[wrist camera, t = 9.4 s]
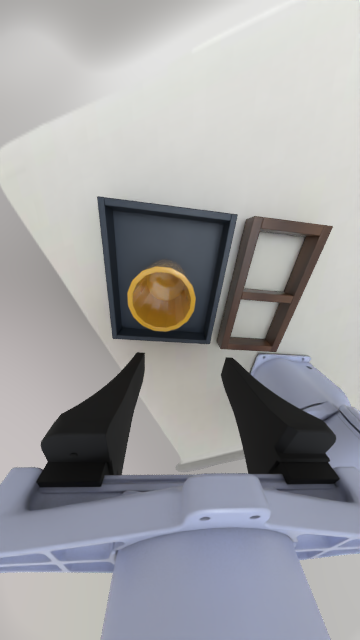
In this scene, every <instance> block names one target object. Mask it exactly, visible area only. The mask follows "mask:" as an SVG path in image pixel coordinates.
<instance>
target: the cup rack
mask: <svg viewBox="0 0 360 640" xmlns="http://www.w3.org/2000/svg"><path fill="white" fill-rule="evenodd" d="M332 228H333V226H327V225H319V224H312V223H304V222H296V221H289V220H281V219H273V218H265V217H264V218H263V217H258V216H254V217H251V218H249V219H246V223H245V227H244V231H243V235H242V239H241V244H240V248H239V252H238V256H237V260H236V265H235V269H234V273H233V277H232V281H231V285H230V290H229V294H228V298H227V302H226V306H225V310H224V315H223V319H222V323H221V327H220V331H219V336H218V340H217V342H218V345H219V347H220V349H232V350H250V351H269V352H276V351H277V349H278V347H279V344H280V342H281V340H282V338H283V336H284V333H285V331H286V329H287V327H288V325H289V322H290V320H291V318H292V316H293V314H294V311H295V309H296V307H297V305H298V303H299V300H300V298H301V296H302V294H303V292H304V289H305V287H306V285H307V283H308V280H309V278H310V276H311V274H312V272H313V269H314V267H315V265H316V263H317V261H318V258H319V256H320V254H321V252H322V250H323V247H324V245H325V243H326V241H327V239H328V236H329V234H330V232H331V230H332ZM260 231H262V232H270V233H278V234H287V235H295V236H303V237H306V238H305V240H304V243H303V245H302V248H301V250H300V253H299V255H298V258H297V261H296V263H295V266H294V268H293V271H292V273H291V276H290V278H289V281H288V283H287V286H286V288H285V291H284V292H277V291H266V290H254V289H244V286H245V282H246V279H247V275H248V271H249V268H250V264H251V261H252V257H253V254H254V250H255V246H256V243H257V239H258V236H259V232H260ZM241 299H244V300H257V301H269V302H280V303H279V306H278V308H277V311H276V313H275V316H274V318H273V321H272V323H271V326H270V328H269V331H268V333H267V336H266V338H265V339H252V338H235V337H230V336H231V332H232V329H233V325H234V322H235V318H236V314H237V311H238V307H239V304H240V300H241Z"/></svg>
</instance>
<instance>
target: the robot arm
mask: <svg viewBox="0 0 360 640" xmlns="http://www.w3.org/2000/svg"><path fill="white" fill-rule="evenodd" d="M263 356H264V357H263ZM310 360H311V358H310V357H309V356H298V355H279V354H258V355H257V358H256V360H255V363H254V365H253V368H252V370H251V373H249V372H247V371H246V370H245V369H244V368H243V367H242V366H241V365H240V364H239V363H238V362H237V361H236V360H235V359H233V358H226V359H225V363H224V366H223V370H222V373H221V377H222V381H223V385H224V388H225V391H226V393H227V396H228V399H229V401H230V404H231V407H232V409H233V412H234V415H235V418H236V422H237V426H238V429H239V433H240V437H241V441H242V445H243V450H244V454H245V459H246V464H247V469H248V474H247V473H217V474H216V473H214V474H213V473H212V474H197V475H122V469H123V463H124V457H125V453H126V448H127V442H128V437H129V432H130V427H131V422H132V417H133V413H134V409H135V405H136V402H137V399H138V396H139V392H140V389H141V386H142V382H143V377H144V371H145V353H139V352H137V353H136V354H135V356H134V357H133V358H132V359H131V361H130V362H129V363H128V364H127V365H126V366H125V368H124V369H123V370H122V371H121V372H120V373H119V374H118V375H117V376H116V377H115V378H114V379H113V380H112V381H110V382H109V383H108V384H107V385H106V386H104V387H103V388H102V389H101V390H99V391H98V392H97V393H95V394H94V395H93V396H91V397H89V398H88V399H86V400H85V401H83V402H82V403H80V404H79V405H77V406H75V407H73V408H72V409H70V410H68V411H66V412H64V413H63V414H61V415H60V416H59V418H58V419H57V420H56V422H54V424H53V425H52V427H51V428H50V430H49V431H48V432H47V434H46V435H45V437H44V438H43V440H42V442H41V448H42V451H43V453H44V455H45V457H46V459H47V461H48V463H47V464H46V466H45V468H44V469H43V470H42V469H40V468H35V467H28V468H13V469H11V471H10V472H9V473H8V475H7V476H6V477H5V479H4V480H3V482H2V483H1V485H0V573H7V572H78V573H80V572H83V573H113V575H112V581H111V586H110V592H109V597H108V602H107V608H106V614H105V618H104V624H103V629H102V635H101V640H331V639H330V636H329V634H328V631H327V629H326V626H325V624H324V621H323V619H322V616H321V614H320V611H319V609H318V606H317V604H316V601H315V599H314V596H313V594H312V591H311V589H310V586H309V584H308V582H307V579H306V576H305V574H304V571H303V569H302V567H301V564H300V562H299V560H306V559H314V558H322V557H330V556H339V555H348V554H359V553H360V411H359V410H357V409H356V408H354V407H351V404H350V402H349V400H348V398H347V396H346V395H345V393H344V392H343V391H342V390H341V389H340V388H339V387H338V386H336V385H335V384H334V383H333V382H332V381H330V380H329V379H328V378H327V377H326V376H325V375H323V374H322V373H321V372H320V371H319V370H317V369H316V368H315V367H314V366H313V365H311V364H310V363H309V362H310Z"/></svg>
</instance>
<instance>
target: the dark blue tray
mask: <svg viewBox="0 0 360 640" xmlns="http://www.w3.org/2000/svg"><path fill="white" fill-rule="evenodd" d="M97 199H98V209H99V218H100V227H101V236H102V245H103V254H104V263H105V273H106V282H107V291H108V300H109V309H110V318H111V327H112V337H113V339H127V340H145V341H163V342H180V343H198V344H205V343H206V344H210V340H211V335H212V331H213V326H214V322H215V317H216V312H217V308H218V303H219V298H220V294H221V289H222V285H223V280H224V275H225V271H226V266H227V261H228V257H229V252H230V248H231V243H232V238H233V234H234V229H235V225H236V220H237V214H229V213H221V212H214V211H206V210H198V209H191V208H183V207H175V206H168V205H160V204H152V203H144V202H137V201H129V200H121V199H114V198H106V197H105V198H104V197H97ZM161 259H168V260H172V261H174V262H176V263H178V264H179V265H180V266H181V267H182V268H183V270H184V271H185V272H186V274H187V276H188V278H189V280H190V282H191V284H192V286H193V290H194V293H195V297H196V301H195V308H194V312H193V313H192V315H191V317H190V318H189V320H188V321H187V322H186V323H184V324H183V325H182V326H180V327H179V328H177V329H174V330H170V331H154V330H151V329H149V328H147V327H144V326H142V325H141V324H140V323H139V322H138V321H137V320H136V319H135V318H134V317H133V315H132V313H131V311H130V309H129V307H128V296H127V293H128V290H129V287H130V285H131V282H132V280H133V279H134V278H135V277H136V276H137V275H138V274H140V273H141V272H142V271H143V270H144V269H145V268H147V267H148V266H149V265H151V264H152V263H153V262H156V261H158V260H161Z"/></svg>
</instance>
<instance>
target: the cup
mask: <svg viewBox="0 0 360 640" xmlns="http://www.w3.org/2000/svg"><path fill="white" fill-rule="evenodd" d="M127 296H128V307H129V309H130V311H131V313H132V315H133V317H134V318H135V319H136V320H137V321H138V322H139V323H140V324H141V325H142V326H144V327H147V328H149V329H151V330H154V331H170V330H174V329H177V328H179V327H180V326H182V325H183V324H184V323H186V322H187V321H188V320H189V318H190V317H191V315H192V313H193V312H194V308H195V301H196V297H195V293H194V290H193V286H192V284H191V282H190V280H189V278H188V276H187V274H186V272H185V271H184V270H183V268H182V267H181V266H180V265H179V264H178V263H176V262H174V261H172V260H168V259H161V260H158V261H156V262H153V263H152V264H151V265H149V266H148V267H147V268H145V269H144V270H143V271H142V272H141V273H140V274H138V275H137V276H136V277H135V278H134V279H133V280H132V282H131V285H130V287H129V290H128V293H127Z"/></svg>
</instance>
